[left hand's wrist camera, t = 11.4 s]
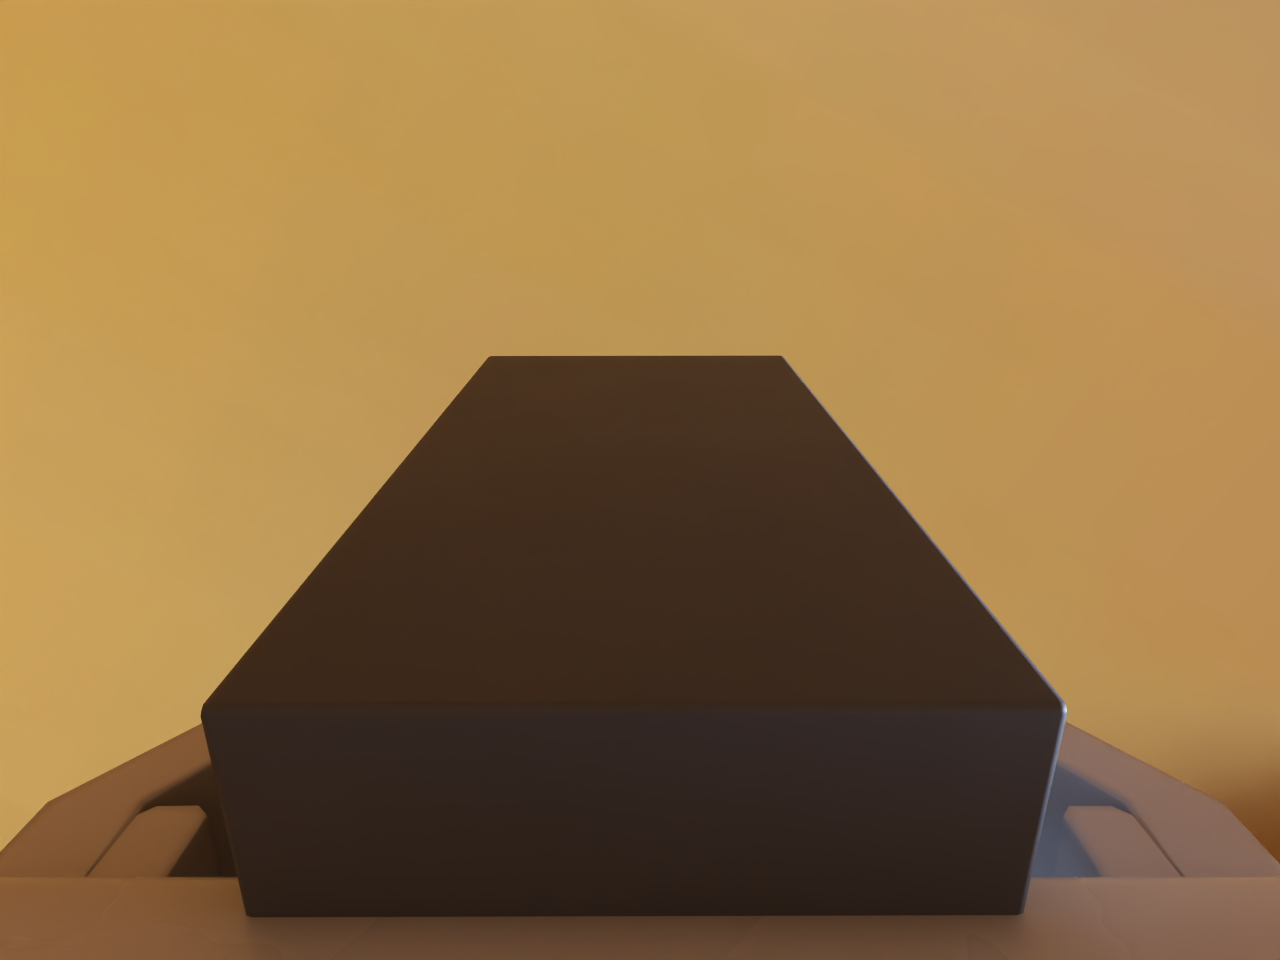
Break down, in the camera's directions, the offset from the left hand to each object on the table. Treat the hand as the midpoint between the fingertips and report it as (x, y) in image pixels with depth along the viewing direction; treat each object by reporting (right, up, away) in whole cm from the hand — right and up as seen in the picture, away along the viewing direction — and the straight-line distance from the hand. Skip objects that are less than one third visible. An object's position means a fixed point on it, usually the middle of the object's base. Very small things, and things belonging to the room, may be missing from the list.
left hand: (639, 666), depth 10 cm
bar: (0, -8, +7) cm, 11 cm away
